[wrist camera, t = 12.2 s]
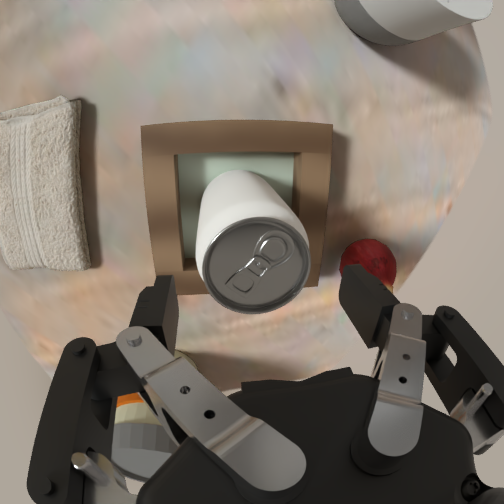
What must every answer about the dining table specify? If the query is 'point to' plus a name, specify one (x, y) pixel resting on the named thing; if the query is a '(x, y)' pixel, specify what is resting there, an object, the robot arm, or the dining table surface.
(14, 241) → the washcloth
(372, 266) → the onion
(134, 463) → the reusable coffee cup
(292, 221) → the can
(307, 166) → the holder
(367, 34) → the smart speaker
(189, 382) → the robot arm
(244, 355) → the dining table surface
